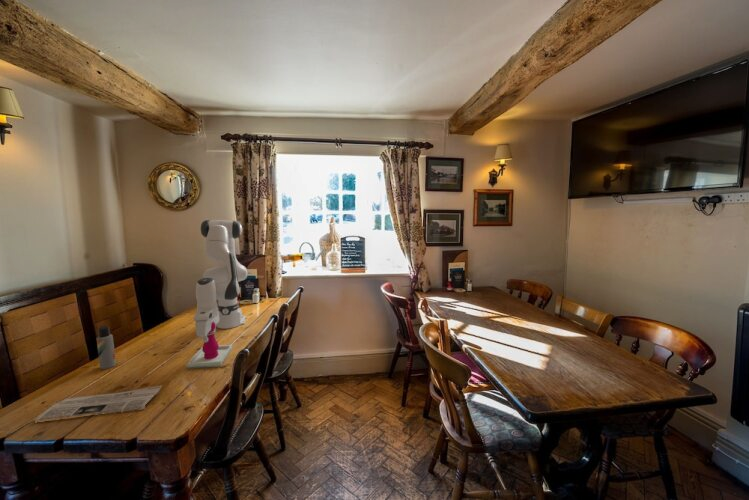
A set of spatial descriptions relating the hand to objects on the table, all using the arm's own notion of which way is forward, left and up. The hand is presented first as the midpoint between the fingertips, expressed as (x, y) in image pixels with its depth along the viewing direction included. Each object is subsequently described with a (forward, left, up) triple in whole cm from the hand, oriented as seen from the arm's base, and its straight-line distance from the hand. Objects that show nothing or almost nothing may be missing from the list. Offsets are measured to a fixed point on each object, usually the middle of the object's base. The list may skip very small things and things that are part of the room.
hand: (209, 337), depth 147 cm
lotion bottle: (0, -46, -11) cm, 47 cm away
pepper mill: (0, 0, -10) cm, 10 cm away
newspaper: (+32, -27, -12) cm, 43 cm away
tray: (0, 0, -11) cm, 11 cm away
